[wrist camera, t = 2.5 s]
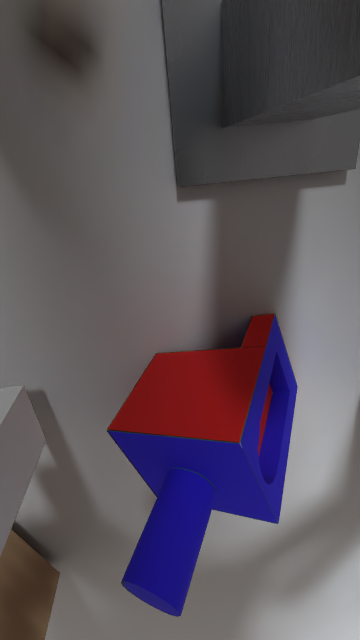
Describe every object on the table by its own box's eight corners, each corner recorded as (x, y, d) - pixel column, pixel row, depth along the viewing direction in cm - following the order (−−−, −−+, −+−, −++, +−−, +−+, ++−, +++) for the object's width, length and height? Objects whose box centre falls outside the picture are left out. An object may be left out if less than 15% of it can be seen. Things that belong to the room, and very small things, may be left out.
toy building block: (173, 325, 13) (41, 531, 7) (275, 313, 11) (201, 591, 5) (204, 386, 15) (115, 594, 9) (298, 386, 13) (261, 661, 7)
